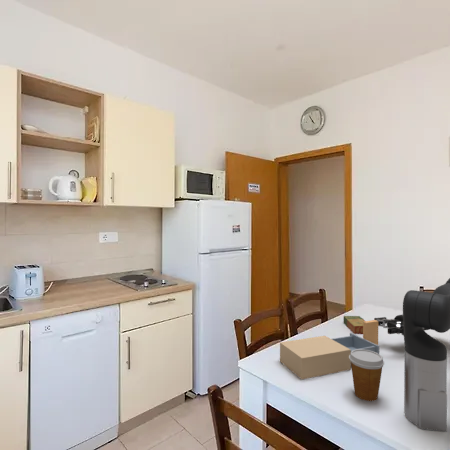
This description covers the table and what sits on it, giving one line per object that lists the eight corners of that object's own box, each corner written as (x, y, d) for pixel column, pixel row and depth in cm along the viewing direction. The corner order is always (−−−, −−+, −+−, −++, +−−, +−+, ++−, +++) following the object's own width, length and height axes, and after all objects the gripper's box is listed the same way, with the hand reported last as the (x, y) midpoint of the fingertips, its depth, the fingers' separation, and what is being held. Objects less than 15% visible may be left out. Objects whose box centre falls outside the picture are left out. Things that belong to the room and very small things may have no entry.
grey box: (334, 371, 104) (335, 334, 104) (310, 354, 118) (310, 322, 117) (391, 359, 113) (392, 326, 113) (362, 345, 126) (363, 315, 126)
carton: (353, 334, 141) (353, 325, 141) (342, 323, 157) (342, 315, 157) (372, 335, 140) (372, 325, 140) (359, 323, 156) (359, 315, 156)
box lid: (301, 379, 100) (301, 358, 100) (279, 361, 113) (280, 342, 113) (350, 369, 107) (350, 349, 107) (324, 353, 120) (324, 335, 120)
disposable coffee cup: (354, 383, 98) (354, 346, 97) (387, 394, 92) (387, 354, 91) (344, 396, 90) (344, 356, 90) (379, 409, 84) (380, 365, 84)
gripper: (394, 309, 132) (365, 313, 127) (426, 319, 119) (395, 323, 113) (394, 327, 132) (365, 331, 127) (425, 338, 119) (394, 343, 113)
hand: (379, 327), depth 120 cm, fingers open, 8 cm apart
